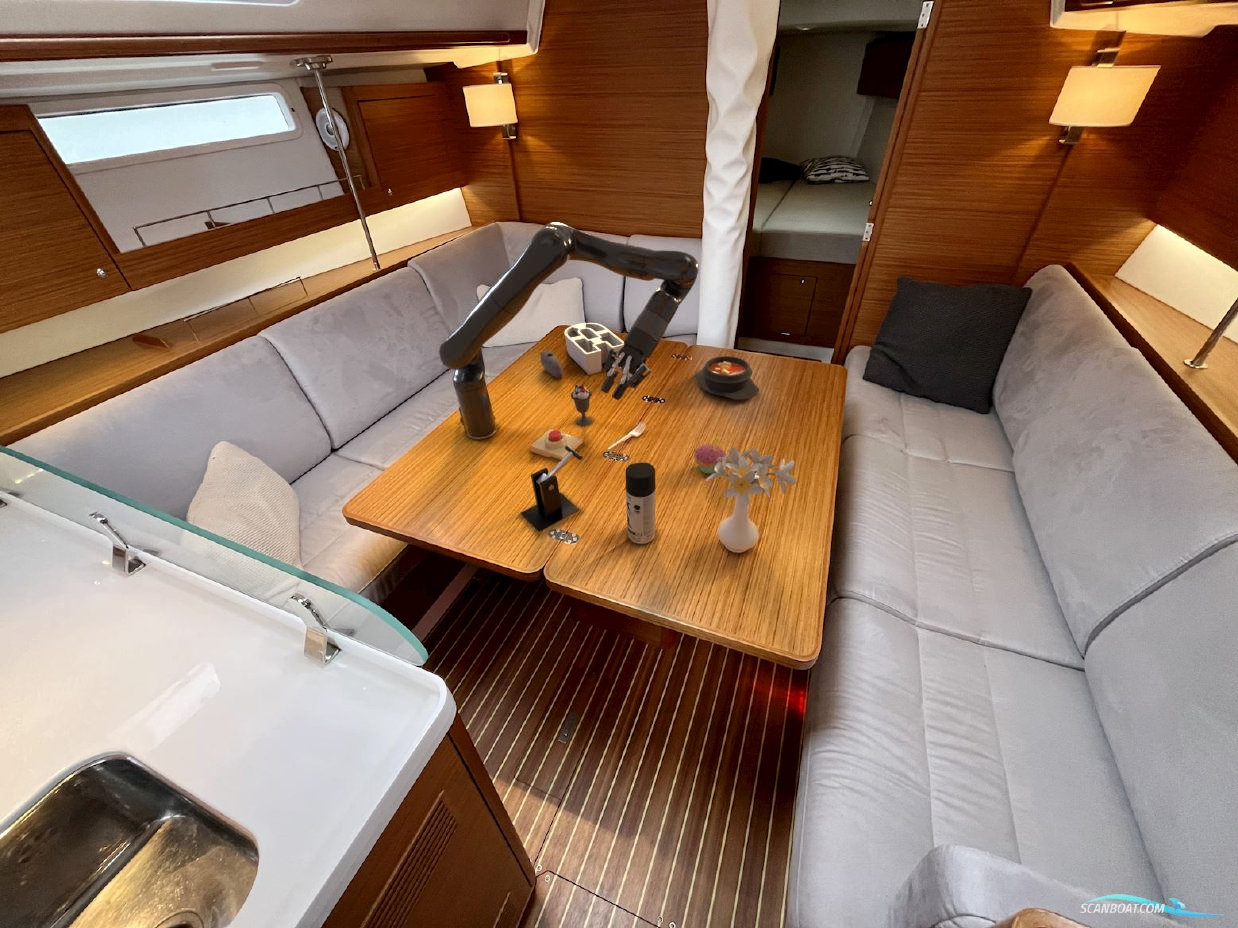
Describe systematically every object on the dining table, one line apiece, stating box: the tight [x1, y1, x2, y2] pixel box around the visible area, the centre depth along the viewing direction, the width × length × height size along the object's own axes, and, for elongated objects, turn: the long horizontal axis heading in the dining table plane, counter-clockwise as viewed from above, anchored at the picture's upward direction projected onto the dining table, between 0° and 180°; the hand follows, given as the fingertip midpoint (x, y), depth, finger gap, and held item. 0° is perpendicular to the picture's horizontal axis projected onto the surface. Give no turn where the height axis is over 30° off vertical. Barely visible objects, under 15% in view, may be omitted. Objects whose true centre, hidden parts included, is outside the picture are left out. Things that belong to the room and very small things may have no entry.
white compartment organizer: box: [564, 322, 624, 375], centre depth 196 cm, size 17×28×9 cm, turn 27°
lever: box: [536, 445, 583, 484], centre depth 121 cm, size 12×6×2 cm, turn 129°
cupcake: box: [693, 434, 726, 475], centre depth 135 cm, size 9×8×12 cm
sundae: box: [570, 381, 593, 427], centre depth 156 cm, size 7×7×15 cm
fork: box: [607, 421, 648, 450], centre depth 150 cm, size 3×20×2 cm, turn 137°
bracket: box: [520, 467, 580, 533], centre depth 123 cm, size 12×9×13 cm
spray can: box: [625, 461, 657, 545], centre depth 114 cm, size 7×7×20 cm
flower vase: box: [705, 446, 797, 554], centre depth 109 cm, size 13×18×25 cm
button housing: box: [529, 428, 583, 461], centre depth 149 cm, size 12×10×4 cm
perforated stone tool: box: [540, 350, 564, 380], centre depth 186 cm, size 15×5×7 cm, turn 28°
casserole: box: [694, 355, 760, 401], centre depth 171 cm, size 25×19×8 cm
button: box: [549, 429, 562, 442], centre depth 147 cm, size 4×4×2 cm
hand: (609, 395), depth 121 cm, fingers open, 3 cm apart
